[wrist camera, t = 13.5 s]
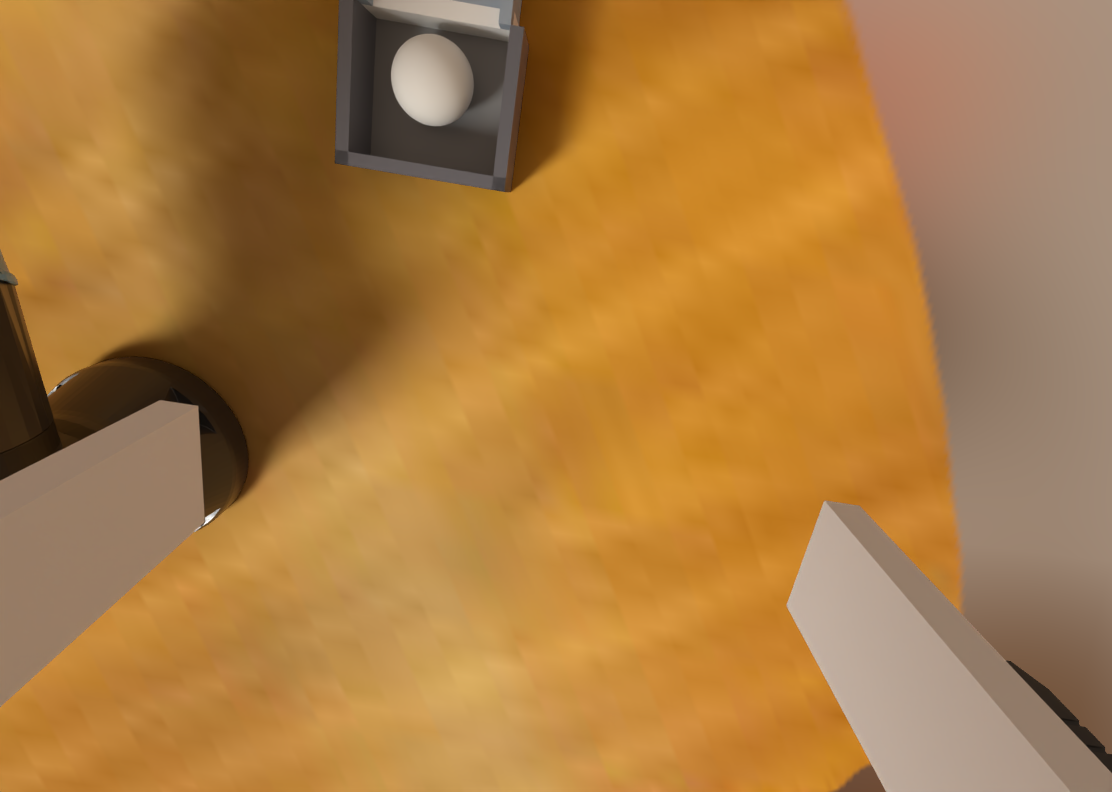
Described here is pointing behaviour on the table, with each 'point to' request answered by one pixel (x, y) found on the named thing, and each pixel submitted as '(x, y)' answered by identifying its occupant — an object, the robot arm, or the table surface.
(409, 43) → the pale rubber ball
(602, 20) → the table surface
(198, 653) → the table surface
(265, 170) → the table surface
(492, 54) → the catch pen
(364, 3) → the launch ramp
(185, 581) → the table surface
